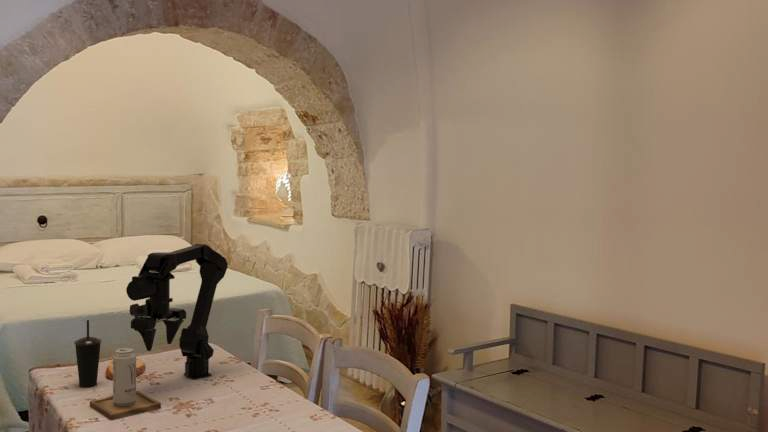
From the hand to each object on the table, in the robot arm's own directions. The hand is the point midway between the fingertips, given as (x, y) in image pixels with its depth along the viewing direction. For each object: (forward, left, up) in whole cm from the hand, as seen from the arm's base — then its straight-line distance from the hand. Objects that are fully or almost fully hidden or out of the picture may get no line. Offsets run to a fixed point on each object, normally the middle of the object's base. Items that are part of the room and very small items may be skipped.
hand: (159, 347), depth 208 cm
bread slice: (-1, -26, -14) cm, 29 cm away
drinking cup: (+14, -18, -13) cm, 26 cm away
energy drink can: (+14, +8, -12) cm, 20 cm away
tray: (+14, +8, -13) cm, 21 cm away
